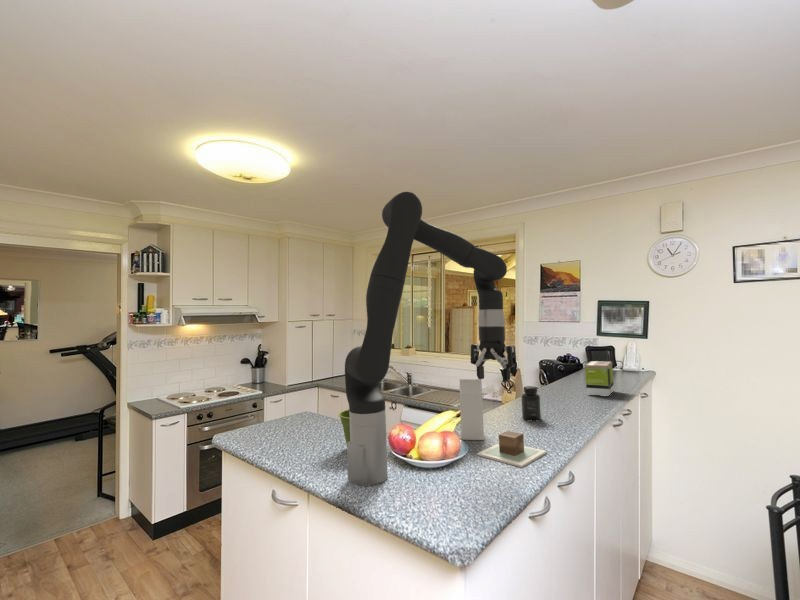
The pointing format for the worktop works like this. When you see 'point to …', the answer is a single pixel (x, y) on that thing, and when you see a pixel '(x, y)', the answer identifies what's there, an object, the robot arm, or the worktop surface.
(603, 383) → the tea box
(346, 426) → the plant pot
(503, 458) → the coaster
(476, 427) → the milk carton
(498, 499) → the worktop surface
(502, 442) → the walnut block
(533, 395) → the supplement bottle
